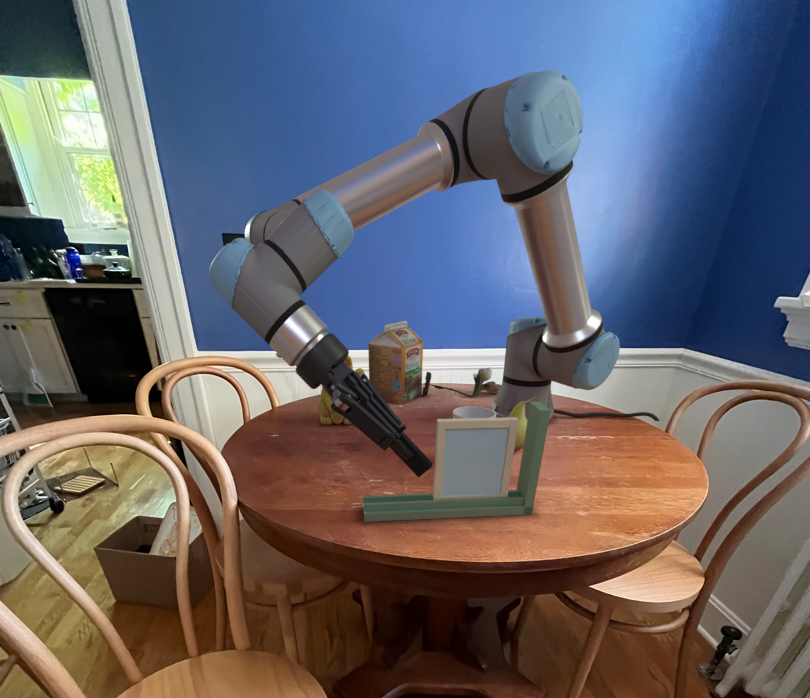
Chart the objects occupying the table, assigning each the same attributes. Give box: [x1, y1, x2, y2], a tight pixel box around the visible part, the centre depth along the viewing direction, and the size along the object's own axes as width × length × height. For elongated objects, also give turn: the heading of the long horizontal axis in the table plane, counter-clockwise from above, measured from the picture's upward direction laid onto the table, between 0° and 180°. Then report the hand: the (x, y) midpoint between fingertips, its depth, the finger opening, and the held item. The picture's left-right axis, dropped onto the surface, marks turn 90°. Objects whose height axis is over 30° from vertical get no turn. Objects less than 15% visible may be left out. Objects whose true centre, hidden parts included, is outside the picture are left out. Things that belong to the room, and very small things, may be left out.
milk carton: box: [367, 320, 424, 405], centre depth 129 cm, size 11×11×19 cm
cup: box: [452, 405, 496, 419], centre depth 92 cm, size 8×8×10 cm
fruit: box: [508, 396, 538, 451], centre depth 98 cm, size 7×8×12 cm
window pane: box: [432, 417, 519, 500], centre depth 73 cm, size 12×1×13 cm, turn 97°
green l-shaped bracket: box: [362, 402, 551, 523], centre depth 73 cm, size 27×4×17 cm, turn 97°
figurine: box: [317, 355, 366, 426], centre depth 112 cm, size 11×9×15 cm
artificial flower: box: [421, 367, 502, 398], centre depth 135 cm, size 9×22×10 cm, turn 89°
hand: (425, 470), depth 73 cm, fingers closed
